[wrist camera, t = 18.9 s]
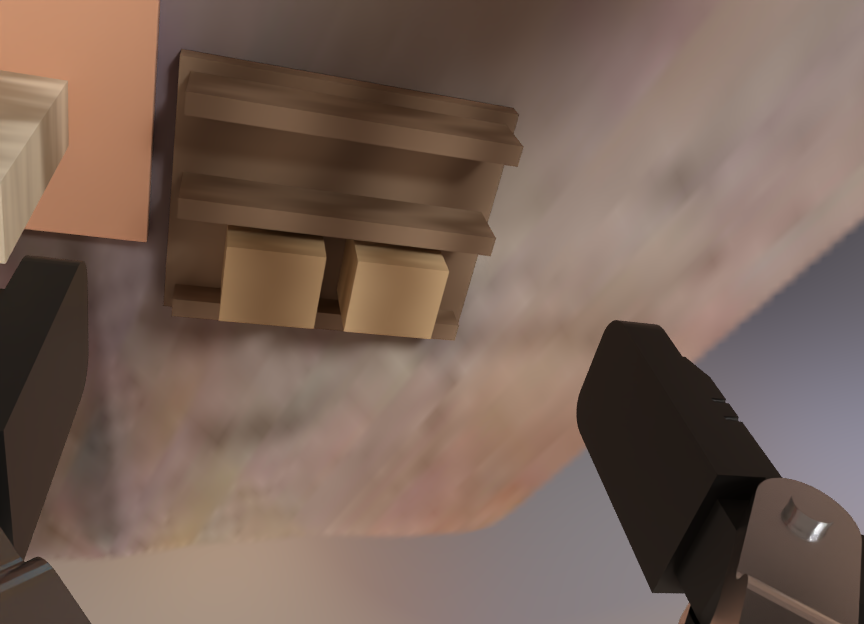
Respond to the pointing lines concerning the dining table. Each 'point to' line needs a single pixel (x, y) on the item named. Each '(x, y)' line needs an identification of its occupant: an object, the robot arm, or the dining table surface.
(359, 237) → the rack
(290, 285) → the offcut
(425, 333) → the offcut
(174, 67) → the dining table surface
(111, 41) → the tile
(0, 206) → the long beige rectangular prism
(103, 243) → the dining table surface
